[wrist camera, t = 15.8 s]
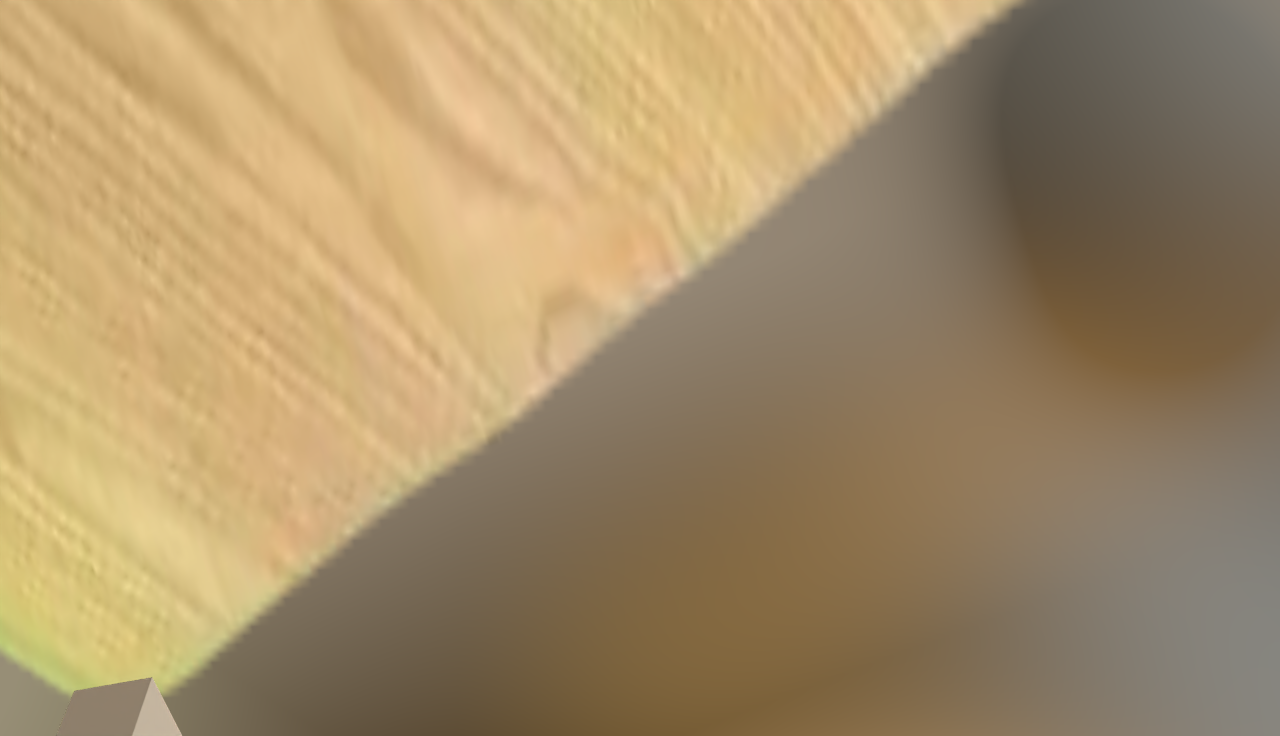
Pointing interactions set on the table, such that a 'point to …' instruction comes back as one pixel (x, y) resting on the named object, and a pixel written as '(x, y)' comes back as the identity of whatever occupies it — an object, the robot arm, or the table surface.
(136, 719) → the robot arm
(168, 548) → the table surface
